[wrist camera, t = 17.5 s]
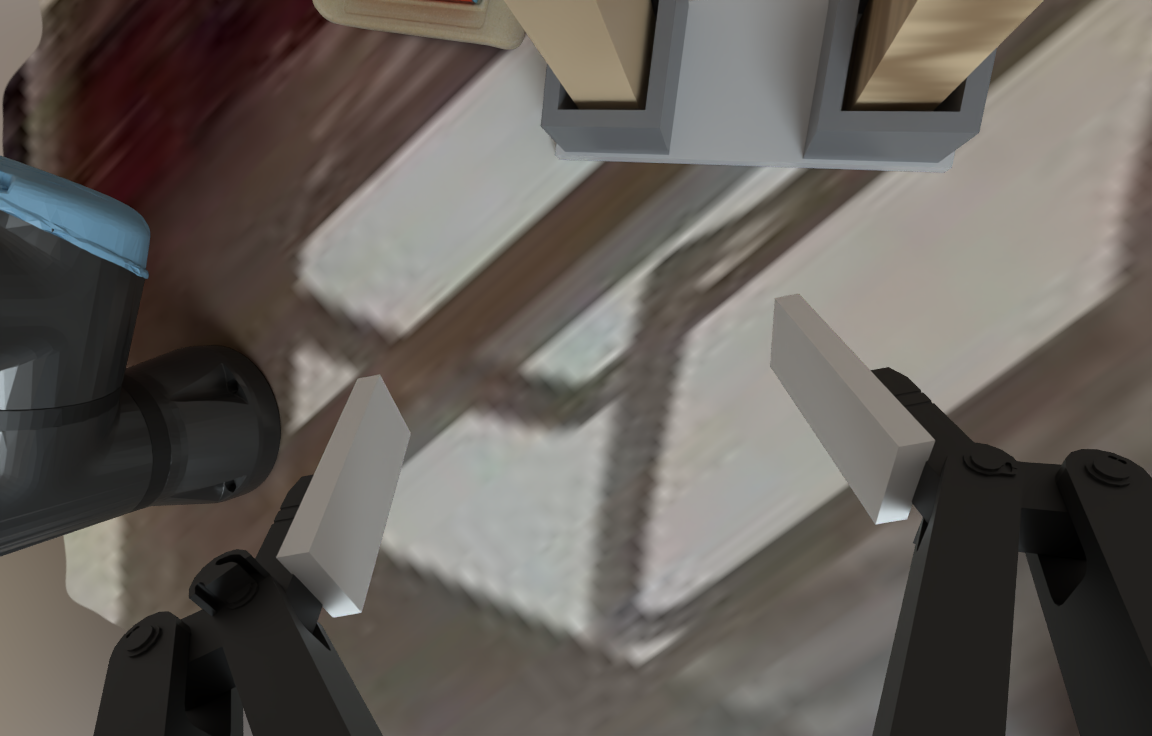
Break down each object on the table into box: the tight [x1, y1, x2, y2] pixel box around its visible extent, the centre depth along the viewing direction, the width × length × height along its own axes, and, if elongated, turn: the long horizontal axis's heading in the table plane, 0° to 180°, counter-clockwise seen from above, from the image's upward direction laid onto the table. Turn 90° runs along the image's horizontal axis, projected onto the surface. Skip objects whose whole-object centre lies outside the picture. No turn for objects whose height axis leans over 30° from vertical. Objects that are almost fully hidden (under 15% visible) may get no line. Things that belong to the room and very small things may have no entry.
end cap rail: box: [504, 0, 997, 173], centre depth 24 cm, size 25×10×19 cm, turn 84°
